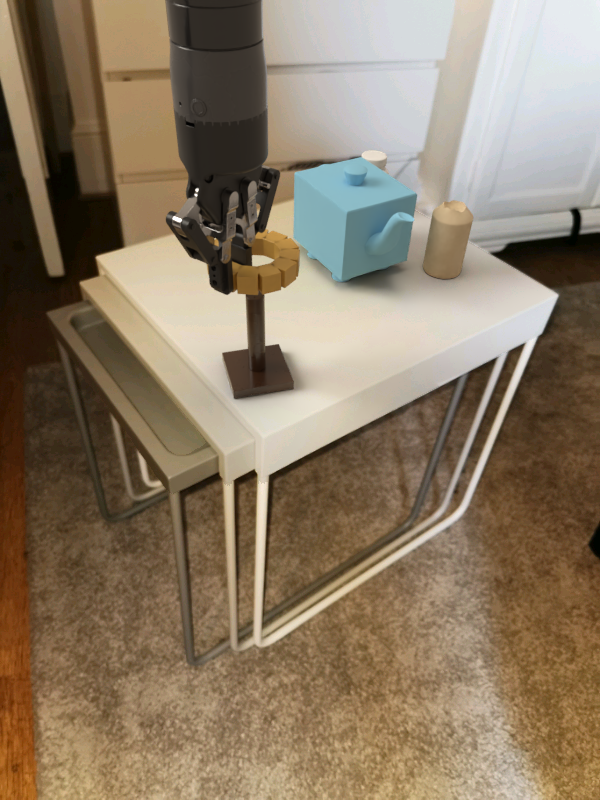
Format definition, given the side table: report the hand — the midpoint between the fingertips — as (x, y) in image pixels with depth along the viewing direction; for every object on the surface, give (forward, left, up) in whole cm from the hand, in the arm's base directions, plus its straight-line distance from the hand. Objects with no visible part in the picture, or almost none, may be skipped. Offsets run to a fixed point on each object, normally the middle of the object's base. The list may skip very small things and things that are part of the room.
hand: (231, 283), depth 63 cm
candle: (+34, +18, -15) cm, 41 cm away
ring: (+3, +2, 0) cm, 4 cm away
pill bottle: (+30, +38, -15) cm, 51 cm away
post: (+3, +2, -14) cm, 15 cm away
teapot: (+22, +22, -15) cm, 34 cm away
